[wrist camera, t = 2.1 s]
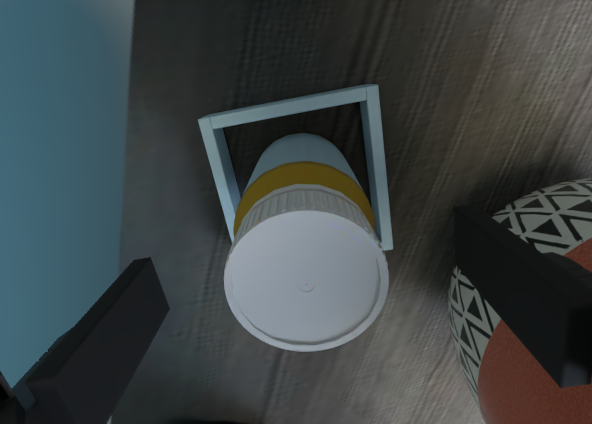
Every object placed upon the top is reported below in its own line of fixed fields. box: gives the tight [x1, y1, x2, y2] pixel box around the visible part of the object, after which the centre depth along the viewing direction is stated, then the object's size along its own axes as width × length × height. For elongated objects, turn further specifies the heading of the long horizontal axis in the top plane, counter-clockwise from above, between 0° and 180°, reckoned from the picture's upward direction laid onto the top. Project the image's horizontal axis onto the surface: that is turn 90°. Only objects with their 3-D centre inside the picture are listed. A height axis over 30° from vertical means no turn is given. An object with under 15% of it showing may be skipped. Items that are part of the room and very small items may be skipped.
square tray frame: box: [198, 84, 393, 251], centre depth 26 cm, size 12×12×3 cm
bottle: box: [224, 132, 389, 352], centre depth 20 cm, size 7×7×15 cm
